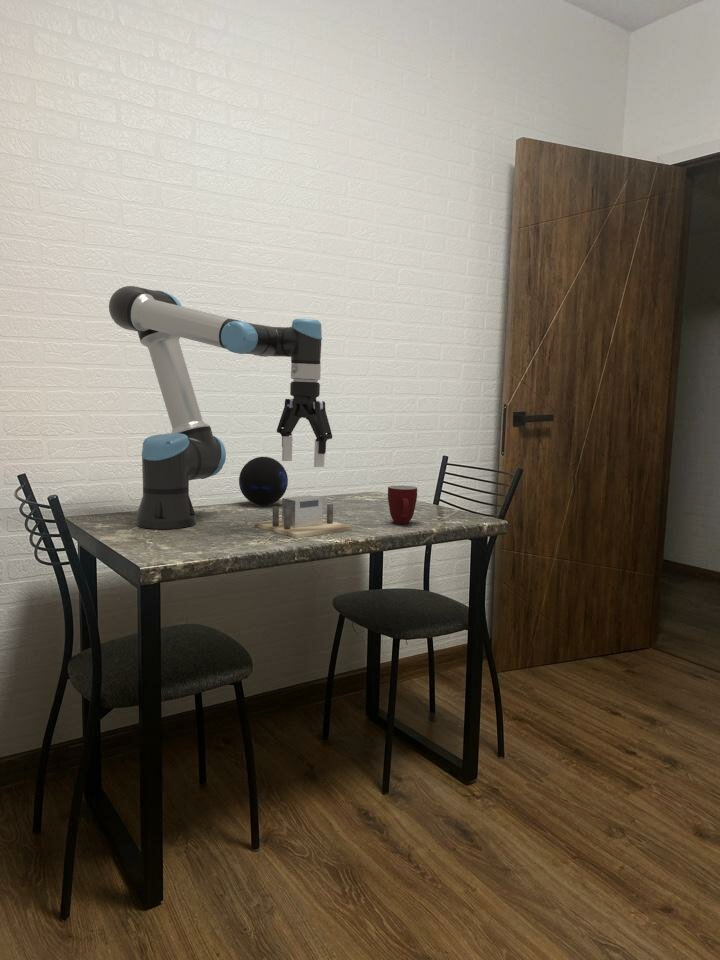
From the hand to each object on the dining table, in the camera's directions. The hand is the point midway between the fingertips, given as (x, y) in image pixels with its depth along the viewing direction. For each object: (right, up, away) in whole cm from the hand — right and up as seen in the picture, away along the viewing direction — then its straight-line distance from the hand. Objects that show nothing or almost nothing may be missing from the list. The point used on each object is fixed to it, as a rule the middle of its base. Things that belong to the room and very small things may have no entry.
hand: (302, 463), depth 189 cm
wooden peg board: (0, -17, +2) cm, 17 cm away
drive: (0, -16, +2) cm, 16 cm away
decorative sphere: (-15, -12, +38) cm, 43 cm away
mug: (+27, -16, +11) cm, 33 cm away
